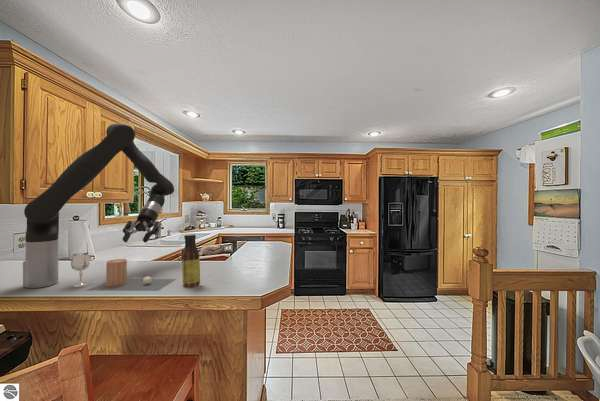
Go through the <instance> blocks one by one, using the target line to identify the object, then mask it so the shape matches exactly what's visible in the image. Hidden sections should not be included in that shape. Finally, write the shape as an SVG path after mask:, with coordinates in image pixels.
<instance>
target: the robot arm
mask: <svg viewBox="0 0 600 401" xmlns="http://www.w3.org/2000/svg"><path fill="white" fill-rule="evenodd" d="M105 132H106V136H105V137H104V138H103V139H102V140H101V141H100V142H99V143H98V144H97V145H95V146H94V147H92V148H90V149H88V150H86V152H84V153H82V154H81V155H80V156H78V157H77V158H76V159H75V160H74V161H73V162H72V163H71V164H70V165H68V167H66V168H65V170H63V172H62V173H61V174H60V175H59V176H58V177H57V179H56V180H55V181H54V182H53V183H52V185H50V186H49V187H48V188H47V189H46V190H45V191H43V192H42V193H40V194H39V195H38V196H37V197H35V198H34V199H33V200H31V201H30V202H28V203H27V204H26V205H25V207H24V210H23V214H24V216H25V219H26V230H25V236H24V237H25V238H24V239H25V241H24V242H25V261H23V262H22V287H23V288H26V289H38V288H45V287H49V286H50V287H51V286H53V285H56V284H58V283H59V234H60V211H61V210H62V209H63V207H64V206H65V205H66V204H67V202H68V201H70V199H71V198H72V197H73V196H74V195H76V194H77V193H79V192H81V190H83V189H84V188H86V186H88V185H89V184H90V183H91V182H92V181H93V180H94V179H95V178H96V177H97V176H98V175H100V173H101V172H102V171H103V170H104V169H105V168H106V167H107V166H108V164H109V163H110V162H112V160H113V159H114V158H115V157H116V156H117V155H118V154H119V153H120V152H122V153H123V154H124V155H125V156H126V157H127V158H128V159H129V160H130V161H131V163H132V164H133V165H134V166H135V168H136V169H137V171H139V173H140V174H141V175H142V176H143V178H144V179H145V180H146V182H148V183H150V184H151V183H152V184H154V185H153V186H152V187H151V188H150V193H149V198H147V199H148V200H147V201H146V203H145V204H144V205H143V207H141V209H140V212H139V213H138V216H137V217H136V221H134V222H132V220H128V221H127V222H126V224H125V225H124V227H123V229H122V232H123V234H124V235H123V237H122V241H123V243H128V241H129V239H130V238H131V235H133V234H136V233H138V232H146V233H145V235H144V236H143V238H142V241H143V243H147V242H148V241H150V238H151V236H153V235H154V236H155V235H158V231H159V229H160V227H161V224H160V222H159V220H157V219H158V218H159V216H160V213H161V211H162V208H163V207H164V204H165V201H166V200H165V197H166V196H169V195H173V193H174V191H175V186H174V184H173V183H172V181H170V179H168V178H167V177H165V175H163V174H162V173H160V171H159V170H158V168H157V167H156V166H155V165H154V163H153V162H152V161H151V160H150V159H149V158H148V157H147V156H146V155H145V154H144V153H143V152H142V151H141V150H140V149H139V147H137V145H136V144H135V143H134V140H135V138H136V132H135V129H134V128H133V127H132V126H131V125H129V124H127V123H122V122H121V123H119V122H118V123H112V124H110V125H108V127H107V128H106V131H105ZM151 228H152V229H151Z"/></svg>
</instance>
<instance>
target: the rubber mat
mask: <svg viewBox="0 0 600 401" xmlns="http://www.w3.org/2000/svg"><path fill="white" fill-rule="evenodd" d="M143 279H144V278H127V283H126V284H124V285H121V286H115V287H108V286H106V281H105V282H102V283H100V284H98V285H96V286H93V287H90V288H89V289H87V291H119V292H120V291H121V292H122V291H126V292H127V291H130V292H132V291H134V292H137V291H139V292H142V291H144V292H145V291H146V292H150V291H151V292H157V291H158V292H159V291H160V290H162V289H163V288H165V287H167V286H169V284H171V283H173V282H175V281H176V280H177V279H176V278H151V279H152V281H151V283H150V284H147V285H146V284H144V283H143Z"/></svg>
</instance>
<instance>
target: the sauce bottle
mask: <svg viewBox="0 0 600 401" xmlns="http://www.w3.org/2000/svg"><path fill="white" fill-rule="evenodd" d="M196 236H197V235H196V234H194V233H191V234H190V233H189V234H185V235H184V241H185V242H184V249H183V250H182V252H181V256H182V260H181V266H182V268H181V269H182V272H181V273H182V286H183V287H184V288H195V287H199V286H200V285H201V282H200V281H201V272H200V271H201V270H200V268H201V266H200V265H201V264H200V254H199V251H198V248H197V245H196V244H197V243H196V239H197V237H196Z"/></svg>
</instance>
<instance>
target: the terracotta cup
mask: <svg viewBox="0 0 600 401" xmlns="http://www.w3.org/2000/svg"><path fill="white" fill-rule="evenodd" d="M127 261H128V260H127V258H116V259H109V260H107V261H106V265H105V266H106V275H105V279H106V281H105V282H106V286H108V287H115V286H121V285H124V284H126V283H127V279H128V276H127V274H128V270H127V268H128V262H127Z"/></svg>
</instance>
